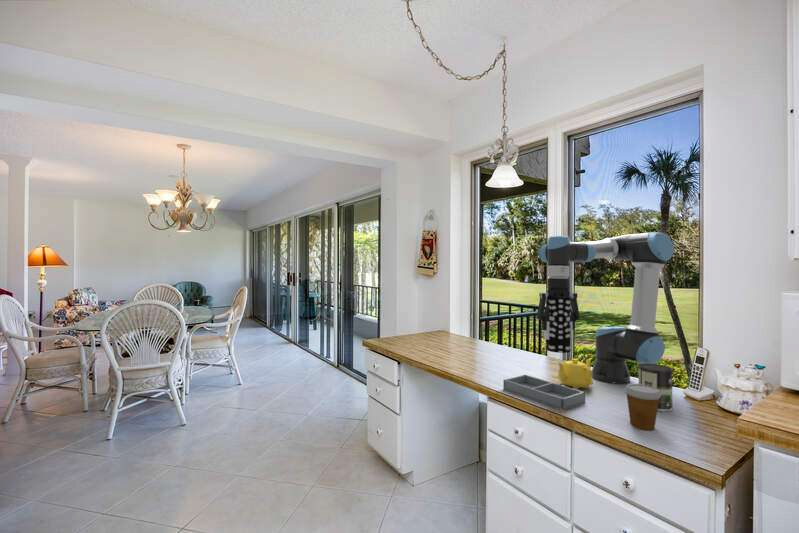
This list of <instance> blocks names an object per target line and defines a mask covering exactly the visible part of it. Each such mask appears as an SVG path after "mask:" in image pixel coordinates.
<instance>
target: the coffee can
mask: <svg viewBox="0 0 799 533" xmlns="http://www.w3.org/2000/svg"><path fill="white" fill-rule="evenodd" d="M637 366H638V384H641V385H647V386H651V387H654V388H656V389H658V390H659V392H660V394H661V397H660V398H659V402H658V409H657V412H672V411H673V372H674V369H673V368H671V367H670V366H667V365H666V366H665V365H661V364H657V363H655V364H644V363H638V365H637Z"/></svg>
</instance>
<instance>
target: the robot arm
mask: <svg viewBox="0 0 799 533" xmlns="http://www.w3.org/2000/svg"><path fill="white" fill-rule="evenodd" d="M570 238H571V237H570V236H567V235H554V236H553V235H552V236H550V237H548V239H547V244H543V245H541V247H540V248H539V249H538V258H539V259H540V261H542V262H544V263H547V277H548V278H547V291H546V292H539V296H538V297H539V303H538V307H537V313H536V319H537V320H540V321H541V330H543V339H545V340H546V339H547V340H549V322H548V321H547V320H548V318H549V316H550V308H547V307H546V298H547V296H549V297H571V327H570V340H573V332H574V330H575V326H576V325H575V322H577V321H578V320H580V319H581V315H580V310H579V305H578V293H576V292H570V279H569V277H570V266H571V263H589V262H592V261H593V260H595V259H605V260H619V261H628V262H629V261H631V265H632V266H633V267H634V268H635V269H634V270H635V271H634V281H633V291H632V293H633V294H632V303H631V314H630V323H629V325H628V326H626V327H624V326H603V327H601V326H600V327H598V328H597V329H596V330H595V361H594V363H593V367H592V368H591V371H592V379H595V380H597V381H600V380H601V381H600V382H604V381H605V383H609V382H615V383H614V384H628V383H630V382H631V374H630V372H629V369H628V367H627V362H626V361H627V360H628V361H631V362H636V363H638V364H657V363H658V362H659V361H660V360H661V359H662V357H663V356H664V354H665V350H666V349H665V348H666V346H665V345H666V344H665V342H664V339H663V338H661V337H660V335H659V334H660V333H659V330H657V328H656V319H657V318H656V317H657V306H658V298H659V297H658V295H659V285H660V276H661V269H663V268H664V267H665V266H666V261H669V260H671V258H672V257H673V256H674V249H675V248H674V243H673V242H672V240H671V238H670V237H669V235H667V234H666V233H664V232H661V231H659V232H658V231H657V232H654V231H651V232H643V233H642V232H641V233H629V234H624V235H619V236H614V237H606V238H603V239H602V240H596V241H595V240H594V241H571V239H570ZM627 382H628V383H627Z"/></svg>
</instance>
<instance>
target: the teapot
mask: <svg viewBox="0 0 799 533" xmlns="http://www.w3.org/2000/svg"><path fill="white" fill-rule="evenodd" d="M592 360H593V357H589V358H587V359H586V362H583V361H579V359H578V358H572V359H571V360H566V361H564V362H563V363H562V362H557V364H558V366H559V369H558V373H557V374H558V375H557V378H558V380H559V381H560V383H562V384H561V385H564V386H566V387H572V388H573V389H576V390H579V389H580V388H582V387H583V388H582V389H586V388H588V389H589V386H592V385H593V384H594V382H593V381H594V380H593V377H592V368H591V361H592ZM579 391H580V390H579Z"/></svg>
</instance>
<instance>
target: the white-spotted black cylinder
mask: <svg viewBox="0 0 799 533" xmlns="http://www.w3.org/2000/svg"><path fill="white" fill-rule="evenodd" d="M546 307H547V308H550V316H549V318H548V320H547V321H548V322H549V340H547V339H545V350H546V351H548V352H551V353H559V354H568V353H571V339H570V327H571V311H572V308H571V297H549V296H547V298H546V304H545V308H546Z"/></svg>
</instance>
